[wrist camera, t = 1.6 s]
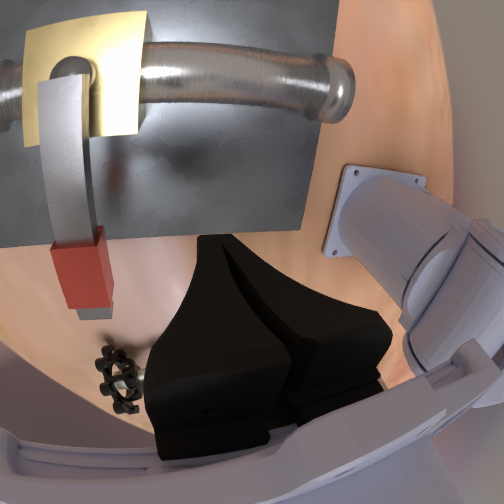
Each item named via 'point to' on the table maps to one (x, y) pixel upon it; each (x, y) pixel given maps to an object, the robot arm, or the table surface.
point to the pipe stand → (174, 111)
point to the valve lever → (73, 189)
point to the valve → (120, 379)
